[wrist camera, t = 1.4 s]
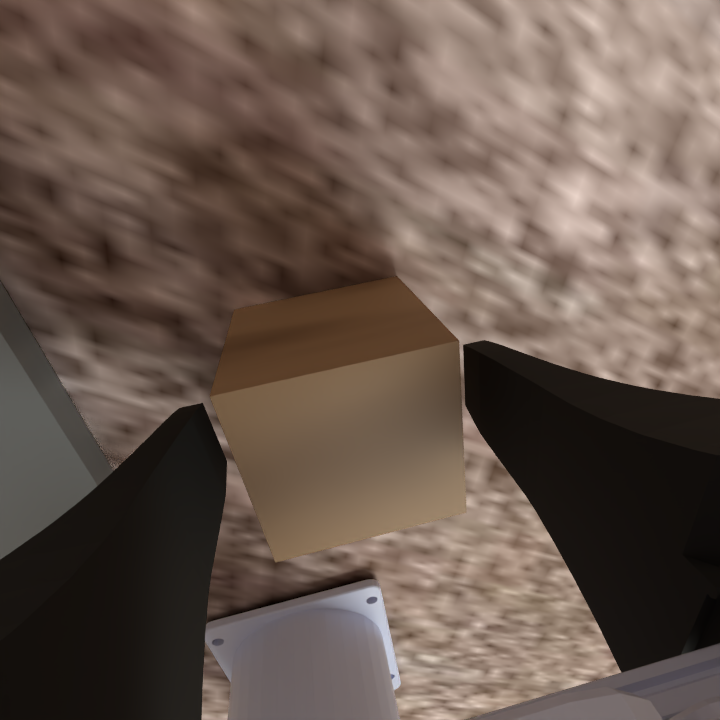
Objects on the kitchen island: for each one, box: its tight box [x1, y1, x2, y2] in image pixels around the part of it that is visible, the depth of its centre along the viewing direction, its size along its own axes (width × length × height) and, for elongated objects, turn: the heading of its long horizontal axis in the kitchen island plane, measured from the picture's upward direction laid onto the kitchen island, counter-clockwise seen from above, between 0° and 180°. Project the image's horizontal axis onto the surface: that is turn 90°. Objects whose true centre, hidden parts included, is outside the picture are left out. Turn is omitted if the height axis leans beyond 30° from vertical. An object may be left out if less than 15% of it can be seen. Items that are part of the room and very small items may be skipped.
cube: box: [210, 276, 466, 563], centre depth 11 cm, size 5×5×5 cm
